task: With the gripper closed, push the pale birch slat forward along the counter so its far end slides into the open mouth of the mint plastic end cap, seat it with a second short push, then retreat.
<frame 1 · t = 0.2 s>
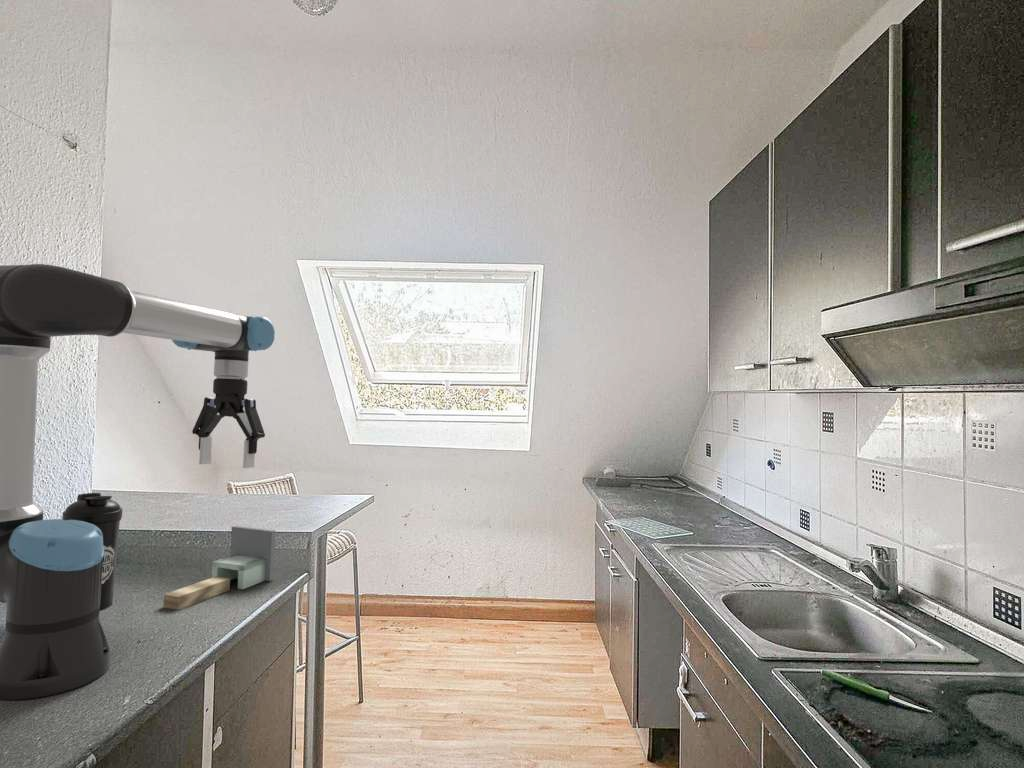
hand: (226, 465, 143), 27 cm above the worktop, fingers open, 13 cm apart
end cap: (238, 582, 140), on the worktop
water bottle: (87, 607, 122), on the worktop
slat: (197, 599, 129), on the worktop
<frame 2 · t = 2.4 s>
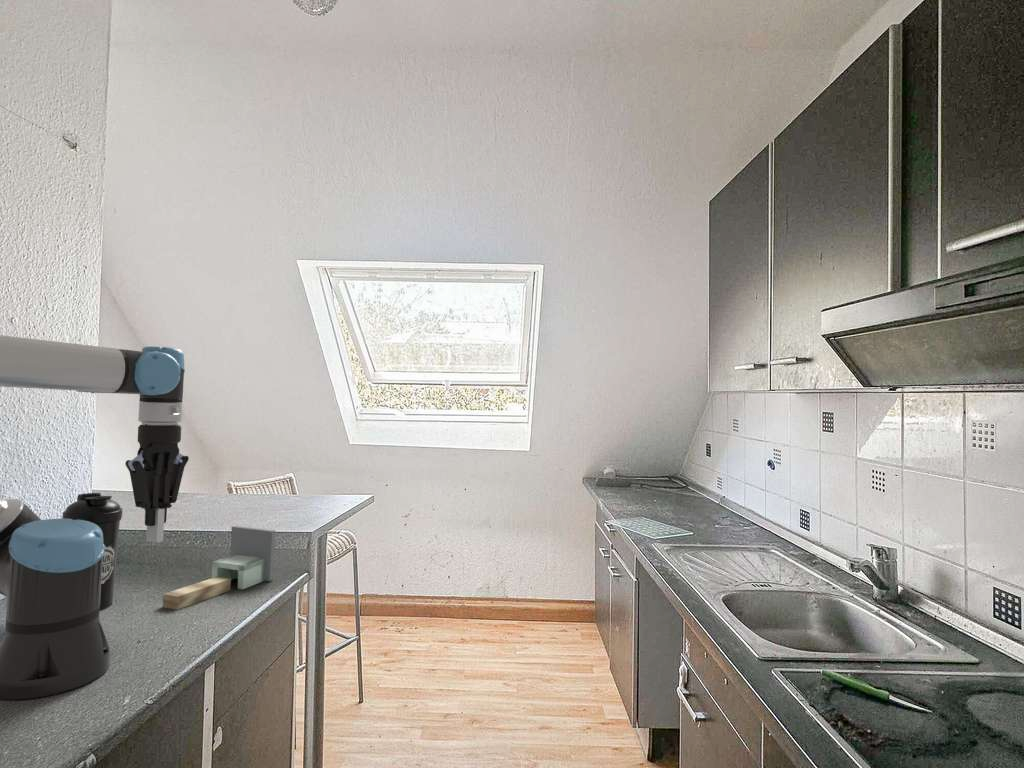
hand: (154, 541, 118), 15 cm above the worktop, fingers closed
nothing on the worktop moved.
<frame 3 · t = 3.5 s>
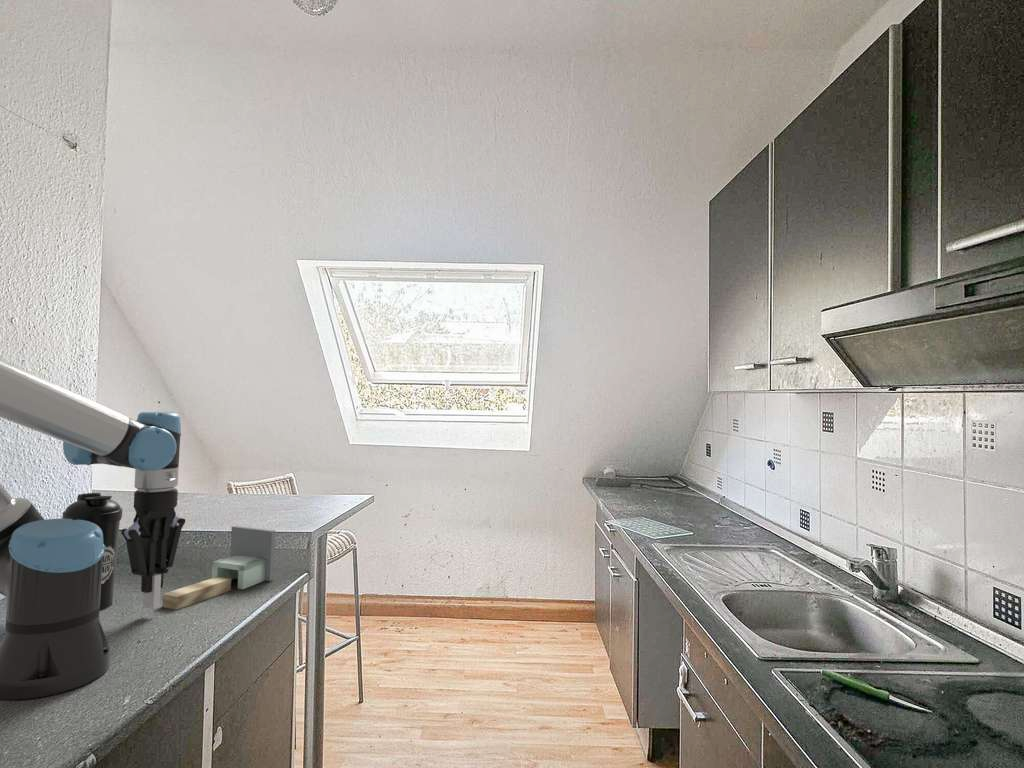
hand: (151, 606, 118), 2 cm above the worktop, fingers closed
nothing on the worktop moved.
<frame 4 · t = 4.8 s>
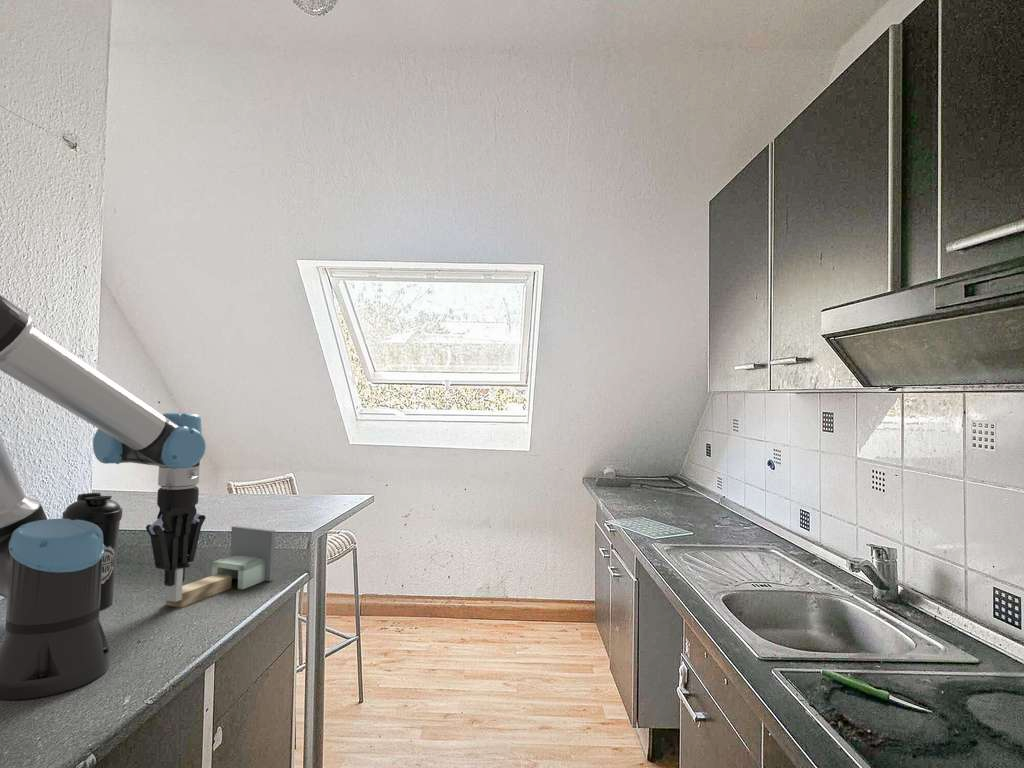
hand: (173, 599, 123), 2 cm above the worktop, fingers closed
slat: (200, 596, 130), on the worktop
everything else where it was.
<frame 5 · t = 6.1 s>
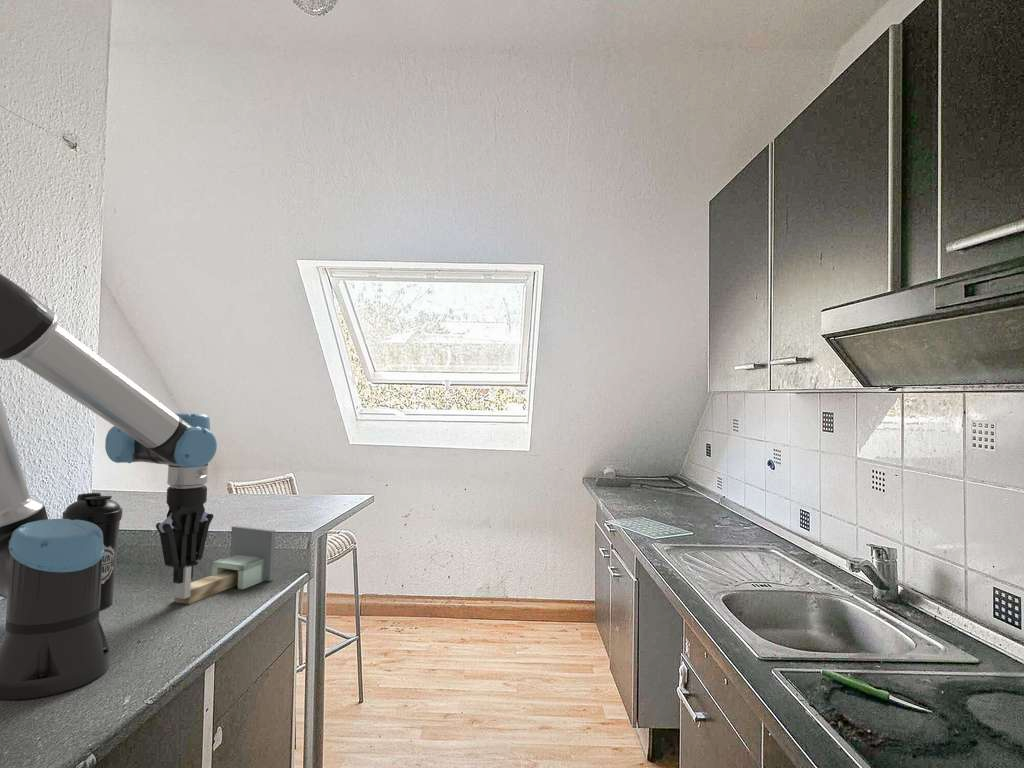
hand: (182, 596, 125), 2 cm above the worktop, fingers closed
slat: (207, 593, 132), on the worktop
everything else where it was.
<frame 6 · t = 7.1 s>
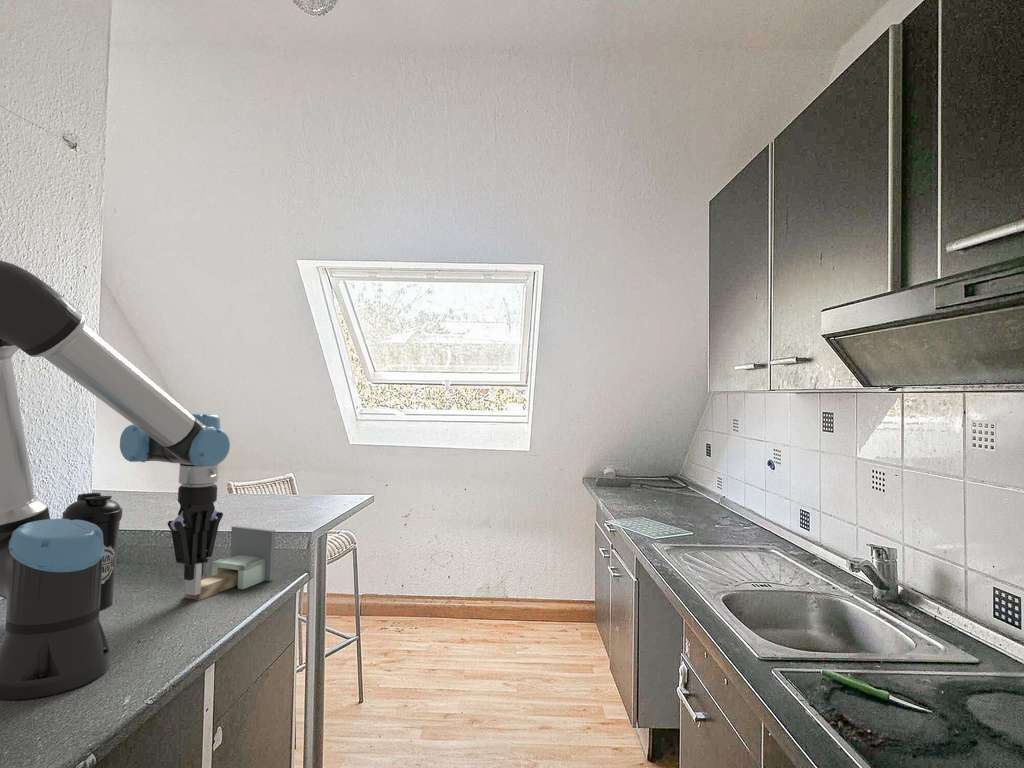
hand: (192, 593, 127), 1 cm above the worktop, fingers closed
slat: (216, 591, 135), on the worktop
everything else where it was.
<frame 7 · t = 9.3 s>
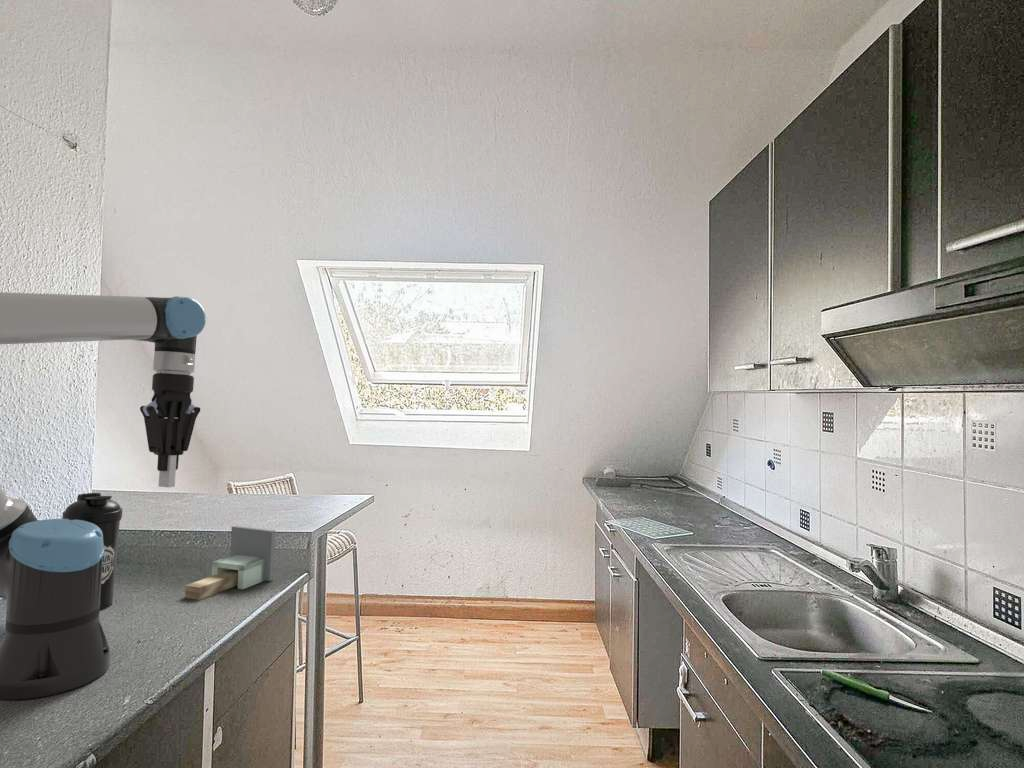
hand: (166, 486, 122), 25 cm above the worktop, fingers closed
nothing on the worktop moved.
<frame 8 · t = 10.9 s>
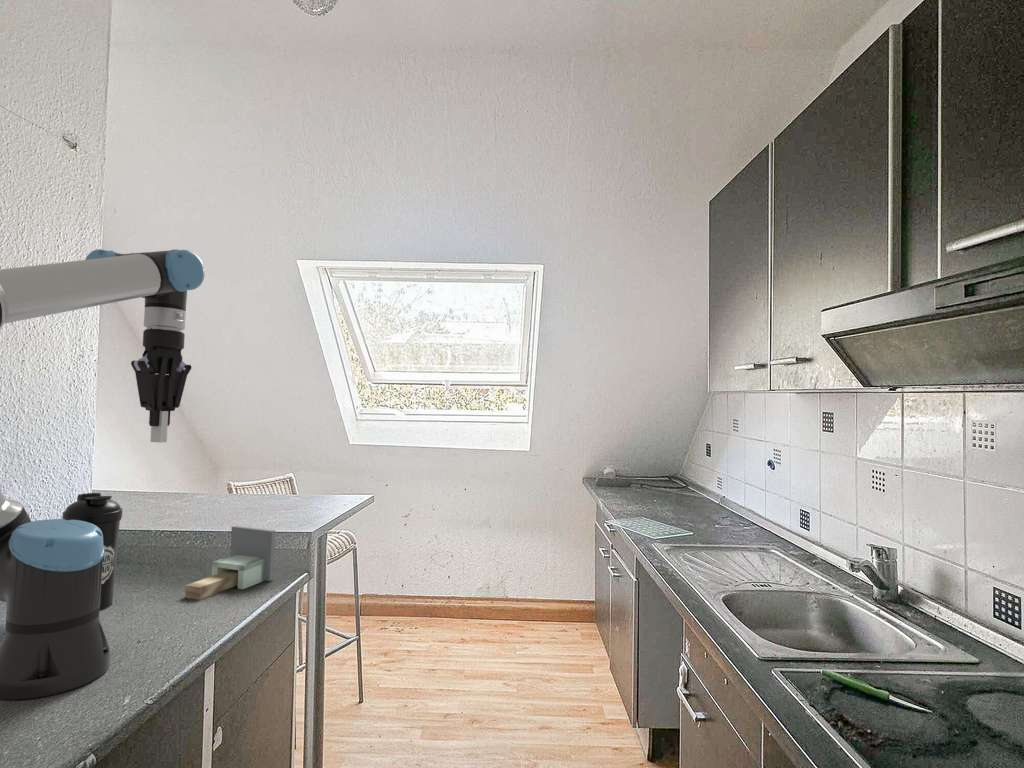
hand: (158, 441, 123), 34 cm above the worktop, fingers closed
nothing on the worktop moved.
at the end: slat 0.9 cm from the target spot on the worktop beside the end cap, on the worktop; slat tilted 0° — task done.
